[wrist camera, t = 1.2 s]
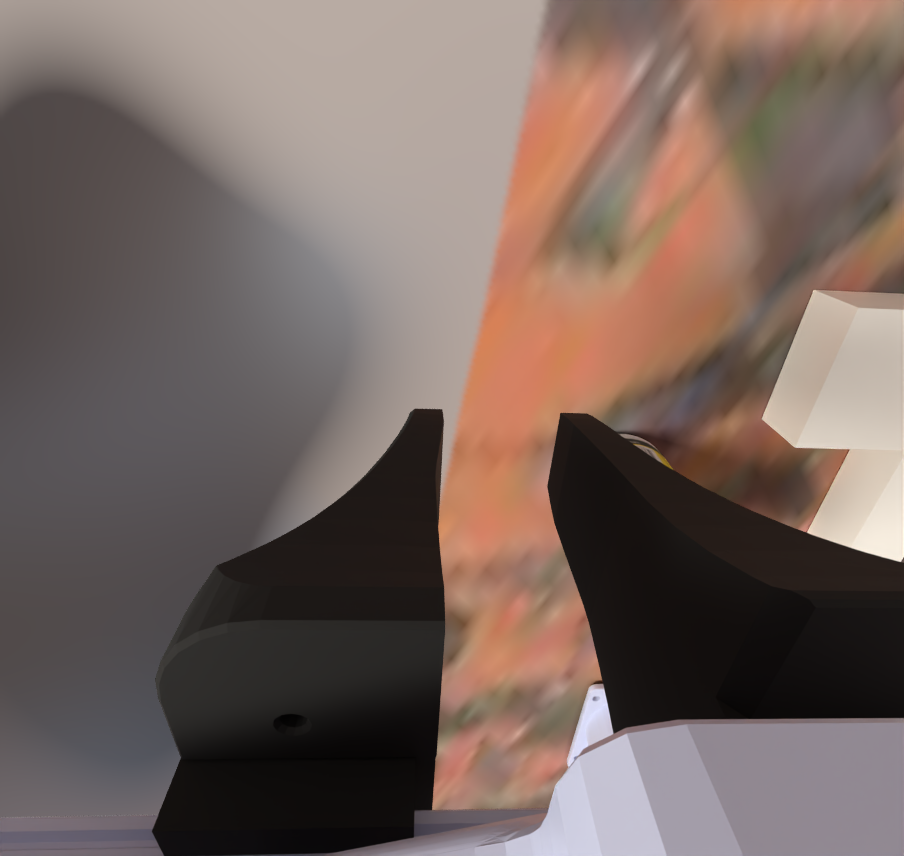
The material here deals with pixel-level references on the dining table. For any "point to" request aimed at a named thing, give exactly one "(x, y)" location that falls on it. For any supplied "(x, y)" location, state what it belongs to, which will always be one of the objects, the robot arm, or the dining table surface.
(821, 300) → the socket dock
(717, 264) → the dining table surface
